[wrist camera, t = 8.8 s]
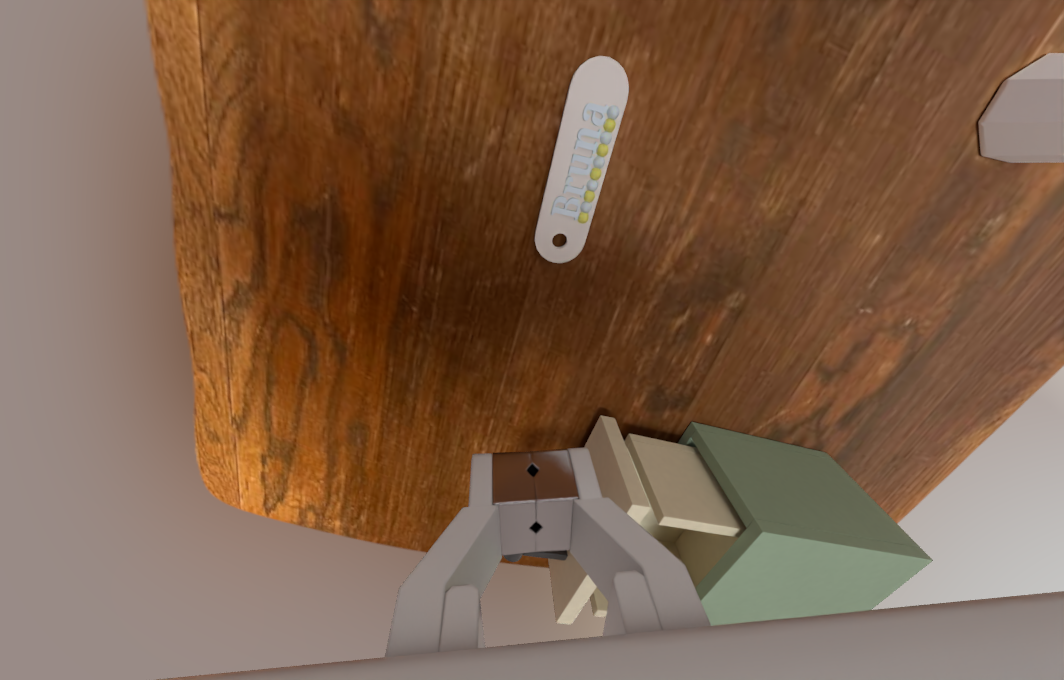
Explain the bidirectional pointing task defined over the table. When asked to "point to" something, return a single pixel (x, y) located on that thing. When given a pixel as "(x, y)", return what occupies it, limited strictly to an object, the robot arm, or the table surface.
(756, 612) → the cabinet
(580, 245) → the keychain
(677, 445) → the drawer
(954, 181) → the table surface
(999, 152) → the salt shaker
